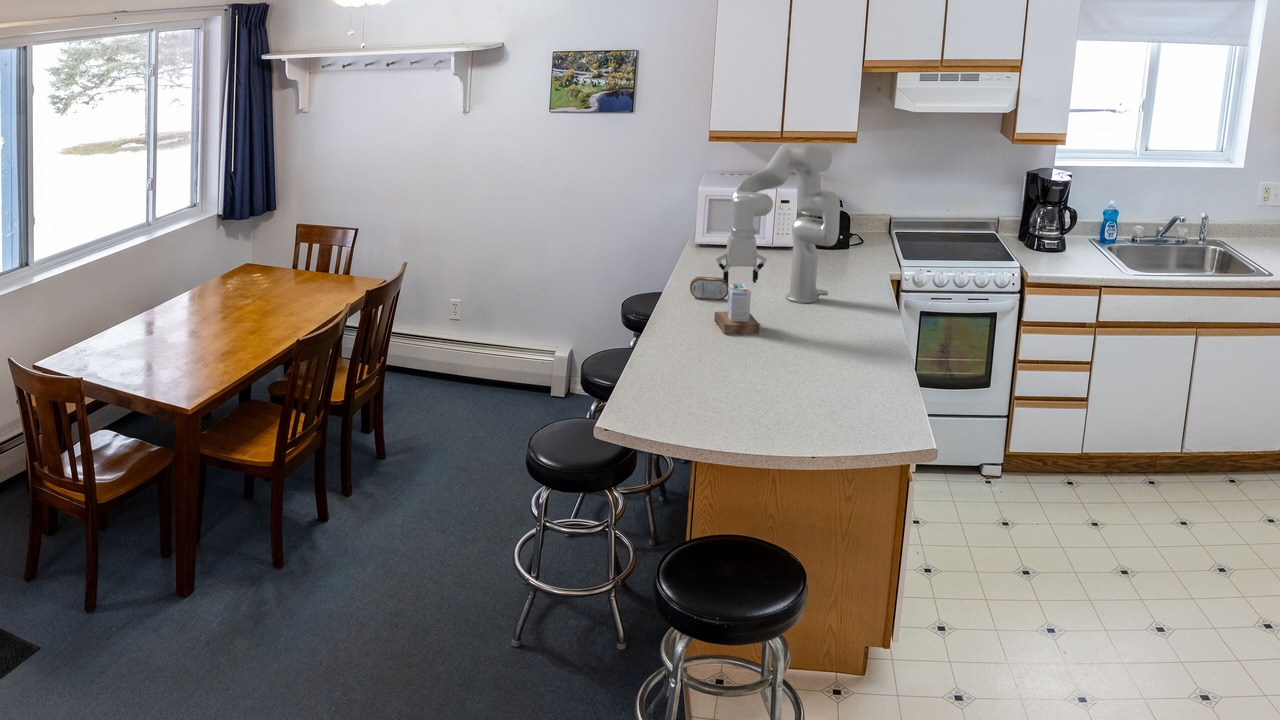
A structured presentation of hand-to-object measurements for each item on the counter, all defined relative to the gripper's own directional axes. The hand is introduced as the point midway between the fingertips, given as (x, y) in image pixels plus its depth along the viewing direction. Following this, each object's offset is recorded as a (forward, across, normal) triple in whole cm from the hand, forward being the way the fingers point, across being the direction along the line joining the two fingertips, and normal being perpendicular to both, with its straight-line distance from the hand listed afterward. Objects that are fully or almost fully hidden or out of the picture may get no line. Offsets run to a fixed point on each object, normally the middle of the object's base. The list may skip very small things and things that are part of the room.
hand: (740, 282), depth 355 cm
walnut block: (+17, +1, +1) cm, 17 cm away
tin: (+17, +6, -36) cm, 40 cm away
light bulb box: (+13, 0, 0) cm, 13 cm away
